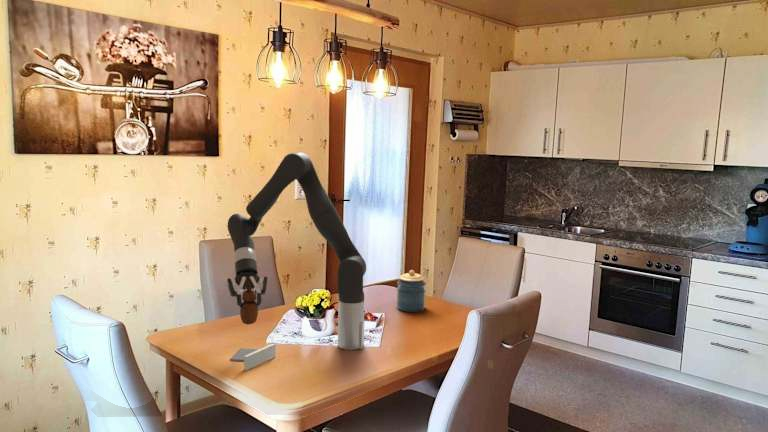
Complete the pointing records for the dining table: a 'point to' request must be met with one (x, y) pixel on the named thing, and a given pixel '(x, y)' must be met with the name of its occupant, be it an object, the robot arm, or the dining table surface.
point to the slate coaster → (241, 354)
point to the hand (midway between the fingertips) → (249, 305)
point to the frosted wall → (259, 356)
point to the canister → (411, 292)
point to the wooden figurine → (249, 306)
